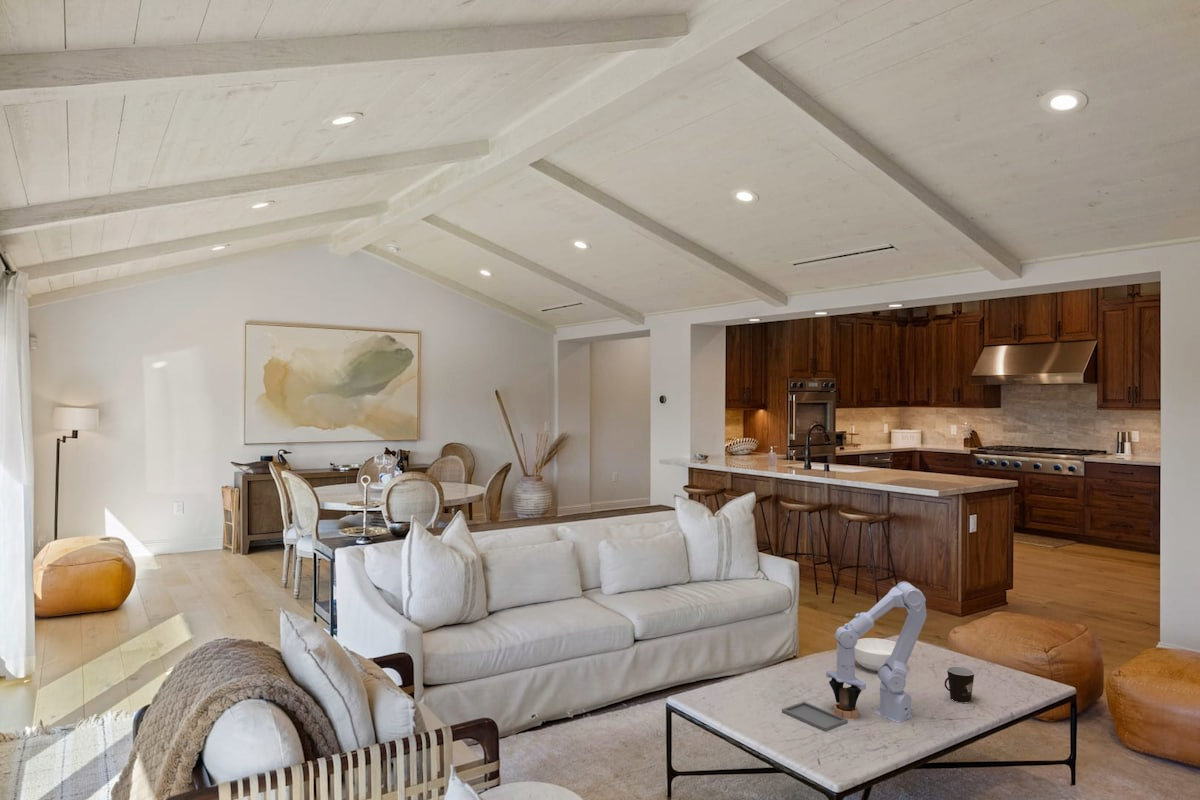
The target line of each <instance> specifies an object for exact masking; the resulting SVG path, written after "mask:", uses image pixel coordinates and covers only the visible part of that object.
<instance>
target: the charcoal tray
mask: <svg viewBox="0 0 1200 800" xmlns="http://www.w3.org/2000/svg"><path fill="white" fill-rule="evenodd" d="M781 713H782V714H784V715H786V716H789V717H791V718H794V720H795V719H796V720H798V721H800V722H803V723H804V724H807V725H808V726H811V727H814V728H816V729H818V730H820V731H822V732H824V733H825V732H829V731H831V730H834V729H836V728H839V727H841V726H844V725H846V724H848V721H849V719H845V718H842V717H840V716H838V715H835V714H833V712H830V711H827V710H825V709H823V708H821V707H818V706H816V705H813V704H811V703H809V702H806V701H801V702H798V703H796V704H792V705H789V706H787V707H784V708H782V709H781Z"/></svg>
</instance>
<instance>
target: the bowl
mask: <svg viewBox="0 0 1200 800" xmlns="http://www.w3.org/2000/svg"><path fill="white" fill-rule="evenodd" d="M896 642H897V641H893V640H890V639H885V638H880V637H879V638H877V637H875V638H874V637H864V638H858V641H857V644H856V646H855V662H857V663H858V664H859V665H860V666H862V667H863V668H865V669H866V670H871V671H873V672H878V670H879V668H880V667H881V666H882V665H883V664H884V663H885V660H886V659H887V658H889V657H890V656H891V654H892V652H893V649H894V647H895V645H896Z"/></svg>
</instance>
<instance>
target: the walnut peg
mask: <svg viewBox="0 0 1200 800" xmlns="http://www.w3.org/2000/svg"><path fill="white" fill-rule="evenodd" d="M847 688H848V687H843V688H840V689H839V709H840V710H842V711H852V708H850V706H849V694H848V691H847Z"/></svg>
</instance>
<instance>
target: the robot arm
mask: <svg viewBox="0 0 1200 800" xmlns="http://www.w3.org/2000/svg"><path fill="white" fill-rule="evenodd" d="M926 600H927V599H926V597H925V595H924V593H923V592H922V591H921V590H920V589H919V588H916V587H915V586H914V585H912V583H910V582H908V581H900V582H899V583H897V584H896V586H893V587H891V588H890V590H889V591H888V593H887V594H886V595H884V596H883V598H881V599H880V600H879V601H878V602H877V603H875V605H874V606H872V608H870V609H869V610H867V612H865V611H863V612H860V613H858V612H857V613H856V614H854V616H855V617H853V618H852V619H851V620H850V621H849V622H848V623H844V625H842V626H839V627H838V628H837V629H836V632H835V633H834V634H833V635H834V638H835V640H836V641H837V642H836V671H834V670H830V669H829V670H827V671H826V672H825V674H826V676H825V677H826V678H827V679H830V678H831V679H830V680H829V681H828V683H829V685H830V687H831V689H832V693H833V695H834V697H835V699H834V700H835V701H836V704H837V703H839V689H840V688H844V684H846V685H849V686H848V687H846V688H847V691H848V694H849V706H850V708H854V707H855V706H856V707H857V701H858V698H859V697H860V695H861V692H862V691H864V690H867V683H866V682H864V681H862V680H860V679H859V678H857V677H856V675H855V674H856V673H855V672H856V670H855V668H856V664H855V663H856V659H855V646H856V644H857V641H858V639H861V637H862V636H864V635H865V634H866V633H867V632H869V631H870V630H871V629H873V628H874V626H875V621H876V620H878V619H879V618H880V617H882V616H883V615H884V614H886V613H887V612H889V611H890V610H892V609H893V608H905V610H906V611H907V614H908V615H907V616H906V618H905V620H904V623H903V626H902V629H901V631H900V633H899V636H898V638H897V640H896V641H895V642H896V645H895V647H894V649H893V652H892V654H891V656H890V657H889V658H887V659H886V660H885V663H884V664H883V665H882V666H881V667H880V668H879V670H878V671H877V676H878V678H879V680H880V685H879V710H877V711H874V713H873V714H874V715H876V716H877V715H878V716H879V717H882V718H885V719H887V720H890V721H893V722H894V723H898V724H900V723H903V722H905V721H908V720H910V719H913V718H914V716H913V715H912V697H911V695H910V694H908V693H906V691H904V689H905V687H906V684H907V683H906V677H907V674H908V671H907V669H908V668H907V664H908V662H909V660H910V657H911V655H912V652H913V650H914V648H915V645H916V643H917V640H918V639H919V636H920V633H921V631H922V629H923V626H924V624H925V621H926V619H927V607H926V606H927V605H926Z"/></svg>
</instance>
